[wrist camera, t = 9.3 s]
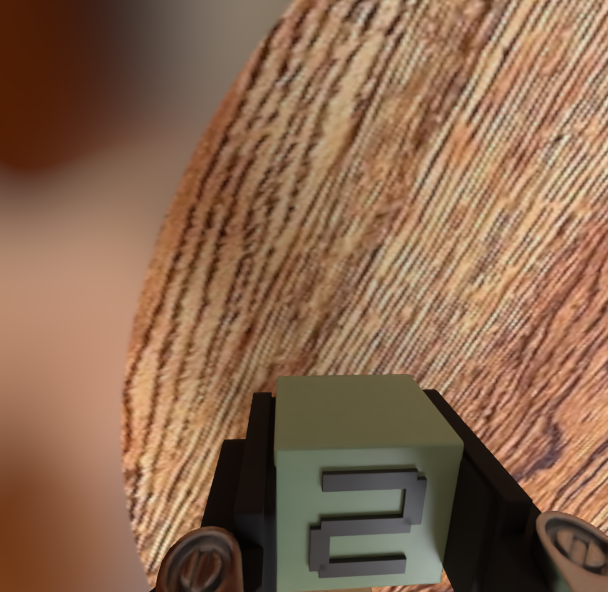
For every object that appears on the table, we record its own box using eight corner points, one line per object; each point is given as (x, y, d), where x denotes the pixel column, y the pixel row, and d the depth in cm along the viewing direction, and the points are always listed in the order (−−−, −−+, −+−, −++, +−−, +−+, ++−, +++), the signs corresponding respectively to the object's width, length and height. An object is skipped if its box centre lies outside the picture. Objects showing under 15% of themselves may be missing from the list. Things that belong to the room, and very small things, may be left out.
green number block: (276, 374, 9) (273, 452, 6) (410, 373, 9) (468, 446, 6) (276, 486, 10) (274, 599, 7) (398, 482, 10) (444, 589, 7)
